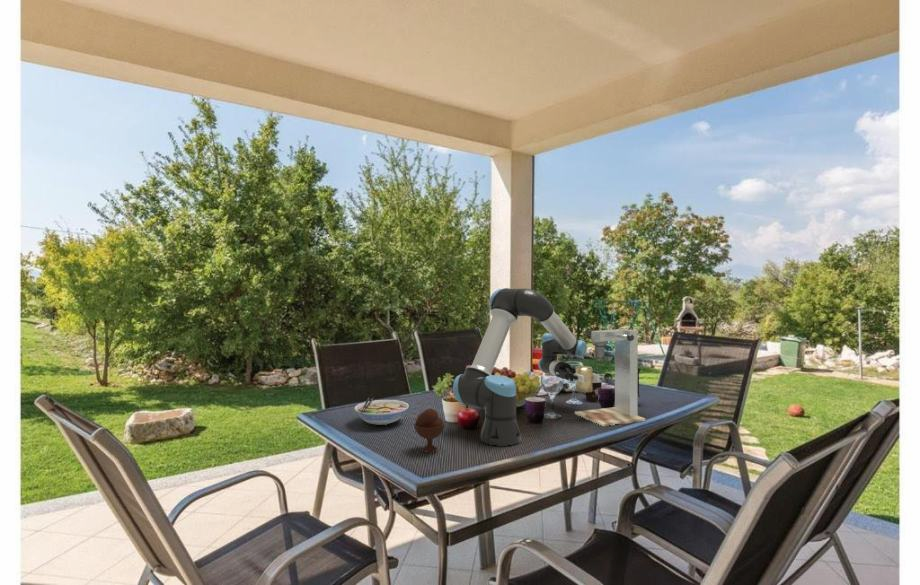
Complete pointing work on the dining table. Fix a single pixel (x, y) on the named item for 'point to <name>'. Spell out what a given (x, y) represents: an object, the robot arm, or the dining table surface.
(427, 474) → the dining table surface
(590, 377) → the cream pillar candle
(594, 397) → the coffee mug
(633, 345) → the press frame
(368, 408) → the ramen bowl
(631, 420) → the plate
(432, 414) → the ice cream bowl
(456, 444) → the dining table surface
